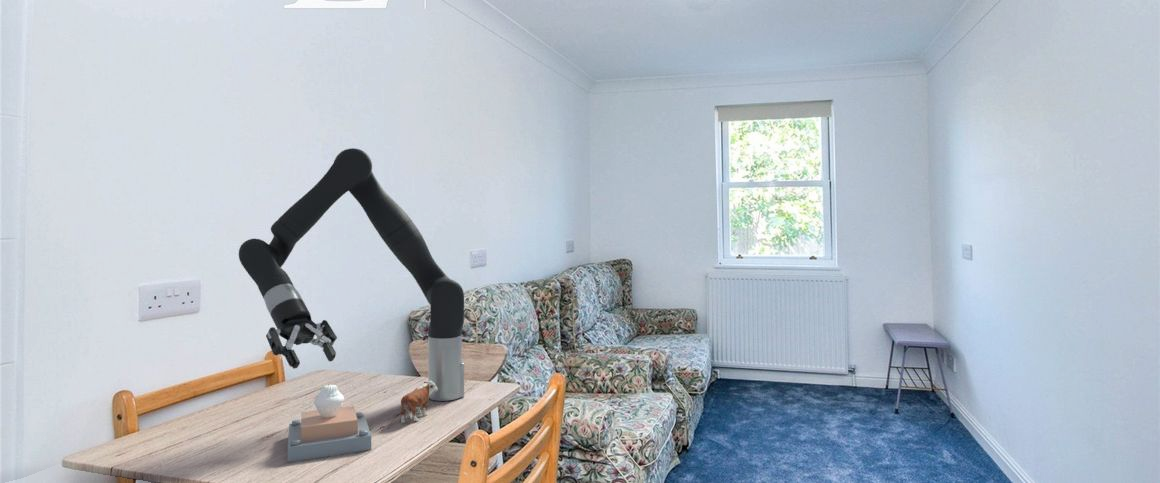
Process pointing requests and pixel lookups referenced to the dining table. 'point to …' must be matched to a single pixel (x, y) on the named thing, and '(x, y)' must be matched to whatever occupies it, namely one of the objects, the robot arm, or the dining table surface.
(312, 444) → the grey pegged tray
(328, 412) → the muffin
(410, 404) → the bull figurine
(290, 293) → the robot arm
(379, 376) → the dining table surface
